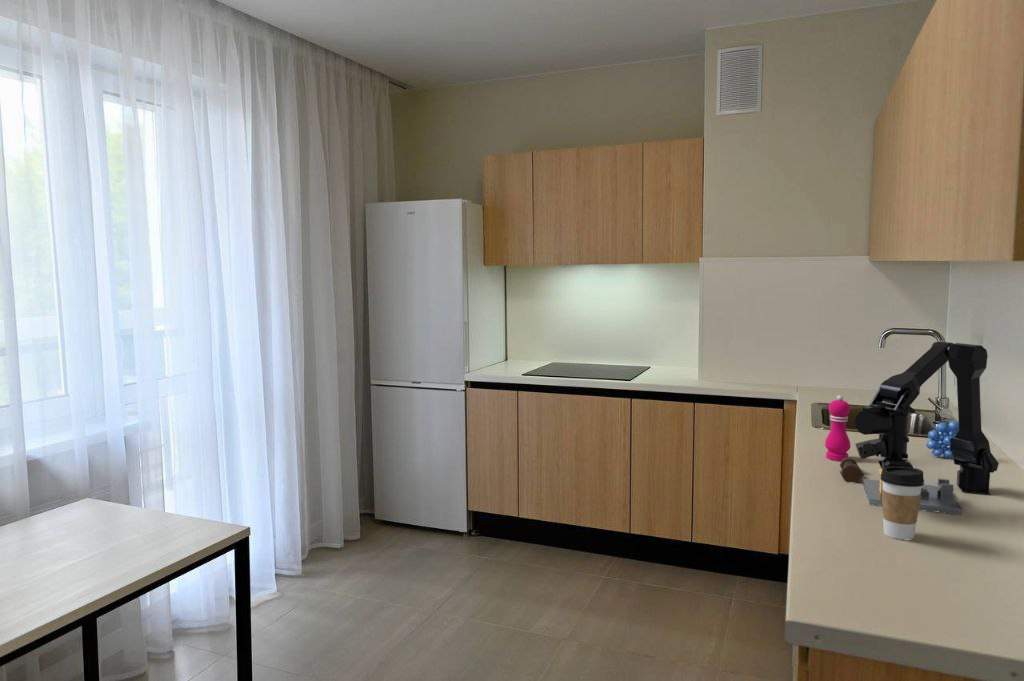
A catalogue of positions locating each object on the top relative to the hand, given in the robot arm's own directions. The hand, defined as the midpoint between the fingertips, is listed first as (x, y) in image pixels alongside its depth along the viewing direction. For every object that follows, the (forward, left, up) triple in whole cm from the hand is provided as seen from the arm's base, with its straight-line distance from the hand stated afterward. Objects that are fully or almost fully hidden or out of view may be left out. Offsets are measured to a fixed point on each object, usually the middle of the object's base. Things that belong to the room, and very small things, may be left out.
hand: (891, 492), depth 175 cm
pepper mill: (+10, -41, -3) cm, 42 cm away
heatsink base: (-5, -6, -3) cm, 8 cm away
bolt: (+8, -23, -3) cm, 25 cm away
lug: (0, -5, -1) cm, 5 cm away
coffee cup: (+1, +23, -3) cm, 23 cm away
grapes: (-22, -55, -3) cm, 59 cm away
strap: (-7, -7, 0) cm, 10 cm away
